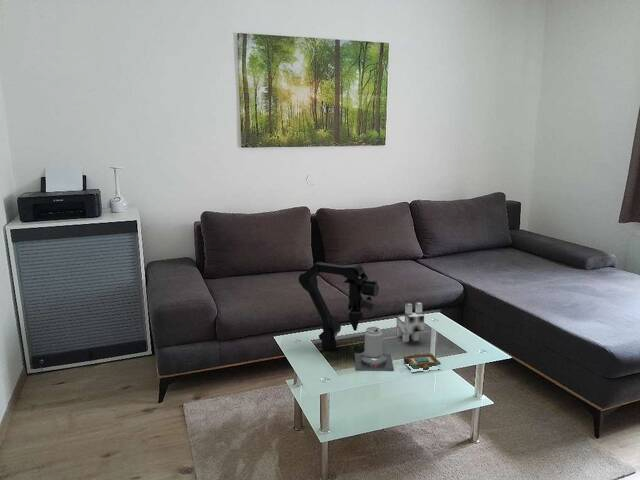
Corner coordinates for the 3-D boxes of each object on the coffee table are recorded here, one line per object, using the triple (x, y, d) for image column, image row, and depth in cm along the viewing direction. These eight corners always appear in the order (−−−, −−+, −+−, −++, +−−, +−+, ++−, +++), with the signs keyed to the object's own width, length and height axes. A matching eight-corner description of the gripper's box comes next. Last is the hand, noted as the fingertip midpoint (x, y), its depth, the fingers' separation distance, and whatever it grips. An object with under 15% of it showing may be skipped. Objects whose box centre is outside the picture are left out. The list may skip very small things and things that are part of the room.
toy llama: (408, 332, 245) (409, 294, 241) (423, 346, 229) (424, 305, 225) (394, 333, 244) (395, 295, 240) (408, 347, 227) (409, 306, 223)
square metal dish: (355, 370, 205) (355, 362, 204) (354, 355, 219) (354, 347, 219) (393, 370, 204) (394, 363, 203) (390, 355, 219) (390, 348, 218)
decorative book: (392, 363, 212) (392, 352, 211) (430, 360, 214) (431, 349, 213) (402, 377, 199) (402, 366, 198) (443, 374, 202) (443, 363, 201)
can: (381, 359, 207) (381, 332, 204) (363, 358, 208) (363, 331, 206) (382, 352, 214) (383, 326, 212) (365, 350, 215) (365, 325, 213)
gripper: (374, 300, 206) (374, 334, 209) (372, 287, 224) (371, 319, 227) (348, 299, 206) (348, 334, 209) (347, 287, 225) (347, 319, 228)
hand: (354, 326), depth 218 cm, fingers open, 9 cm apart
